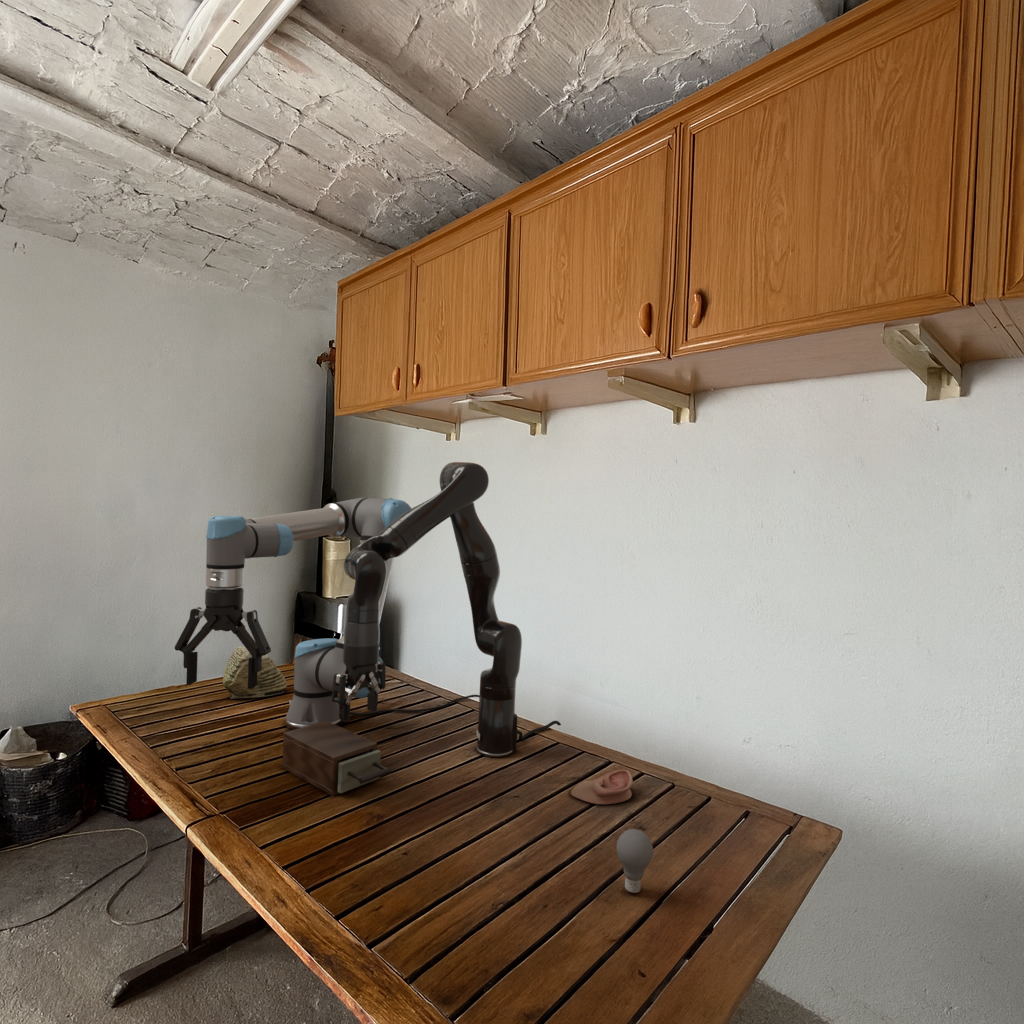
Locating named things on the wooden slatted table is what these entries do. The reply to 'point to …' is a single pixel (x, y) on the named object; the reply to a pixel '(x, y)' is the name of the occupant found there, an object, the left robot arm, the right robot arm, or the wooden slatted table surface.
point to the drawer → (359, 770)
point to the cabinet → (321, 752)
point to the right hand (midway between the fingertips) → (358, 715)
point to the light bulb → (634, 857)
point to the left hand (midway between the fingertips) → (221, 685)
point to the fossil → (237, 676)
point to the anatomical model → (605, 788)
